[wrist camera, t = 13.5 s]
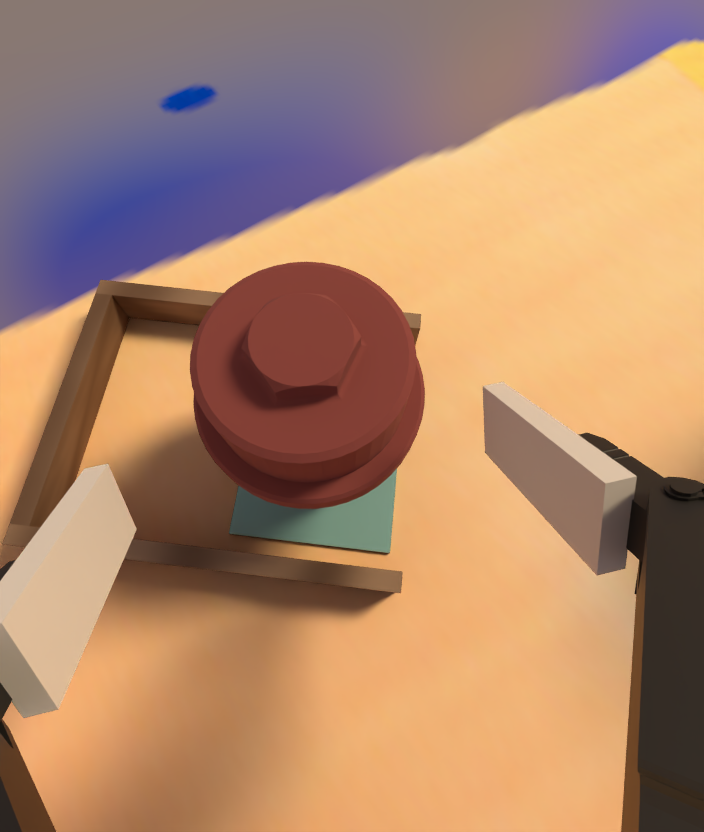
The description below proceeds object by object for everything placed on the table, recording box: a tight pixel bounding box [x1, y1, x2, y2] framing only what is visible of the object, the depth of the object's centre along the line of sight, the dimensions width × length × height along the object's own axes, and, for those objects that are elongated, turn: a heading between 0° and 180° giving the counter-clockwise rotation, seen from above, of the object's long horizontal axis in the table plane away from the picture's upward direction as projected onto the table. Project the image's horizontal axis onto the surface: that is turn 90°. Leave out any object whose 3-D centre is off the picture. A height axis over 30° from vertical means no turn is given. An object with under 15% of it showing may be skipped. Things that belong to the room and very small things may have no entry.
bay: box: [3, 280, 421, 593], centre depth 27 cm, size 20×16×2 cm
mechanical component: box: [190, 262, 425, 509], centre depth 22 cm, size 12×10×10 cm
